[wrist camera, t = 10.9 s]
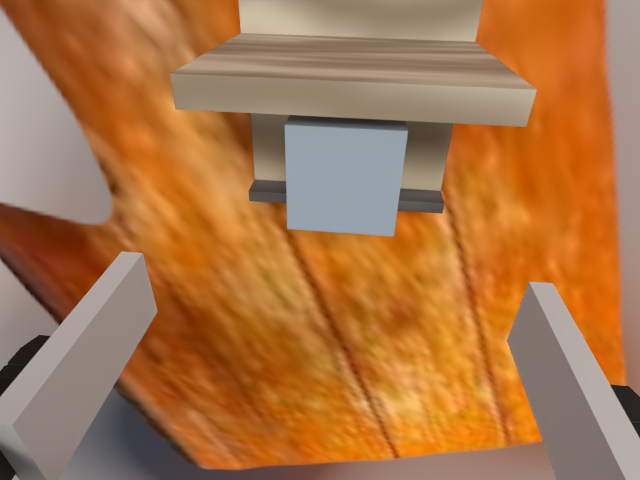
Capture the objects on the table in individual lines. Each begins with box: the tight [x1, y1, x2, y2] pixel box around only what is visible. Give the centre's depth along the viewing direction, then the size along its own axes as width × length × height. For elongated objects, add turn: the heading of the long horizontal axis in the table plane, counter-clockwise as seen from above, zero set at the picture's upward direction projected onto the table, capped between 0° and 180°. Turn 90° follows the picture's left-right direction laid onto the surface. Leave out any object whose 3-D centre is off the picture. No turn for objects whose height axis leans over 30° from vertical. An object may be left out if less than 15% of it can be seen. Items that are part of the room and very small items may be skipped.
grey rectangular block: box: [285, 115, 408, 236], centre depth 26 cm, size 6×6×9 cm
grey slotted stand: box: [170, 0, 537, 213], centre depth 26 cm, size 16×16×14 cm
